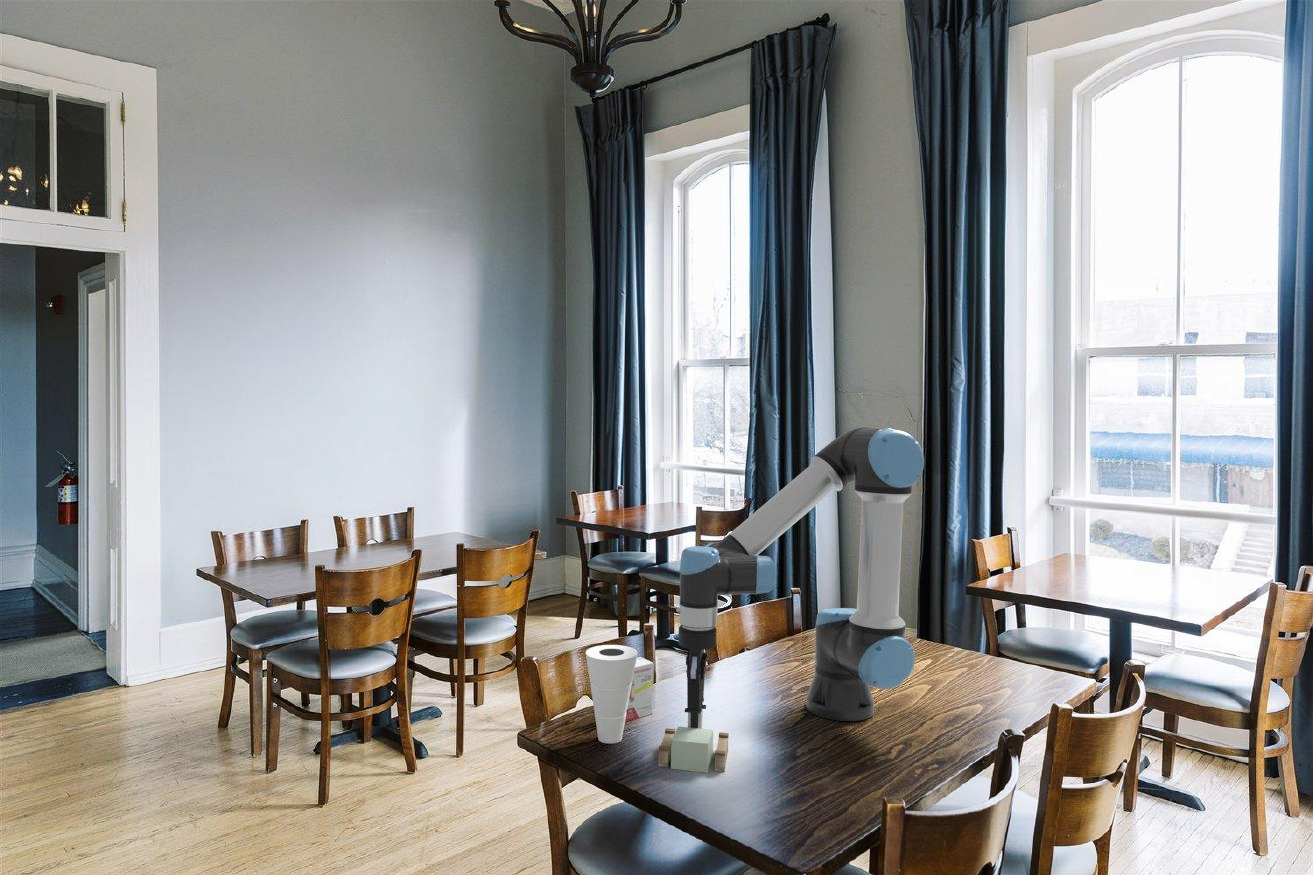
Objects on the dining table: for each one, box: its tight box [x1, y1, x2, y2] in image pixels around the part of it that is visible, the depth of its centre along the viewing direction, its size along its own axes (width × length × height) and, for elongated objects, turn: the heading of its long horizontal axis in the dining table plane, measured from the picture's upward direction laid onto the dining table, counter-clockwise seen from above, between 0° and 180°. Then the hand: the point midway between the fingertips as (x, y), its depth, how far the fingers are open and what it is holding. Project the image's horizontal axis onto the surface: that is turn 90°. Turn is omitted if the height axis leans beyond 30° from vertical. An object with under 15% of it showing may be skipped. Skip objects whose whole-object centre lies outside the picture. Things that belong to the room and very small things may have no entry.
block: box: [670, 726, 714, 774], centre depth 162 cm, size 7×7×6 cm
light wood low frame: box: [657, 727, 729, 773], centre depth 164 cm, size 13×10×4 cm
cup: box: [585, 644, 639, 744], centre depth 173 cm, size 11×11×18 cm
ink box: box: [625, 656, 655, 723], centre depth 186 cm, size 9×5×12 cm, turn 130°
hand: (694, 742), depth 167 cm, fingers closed
